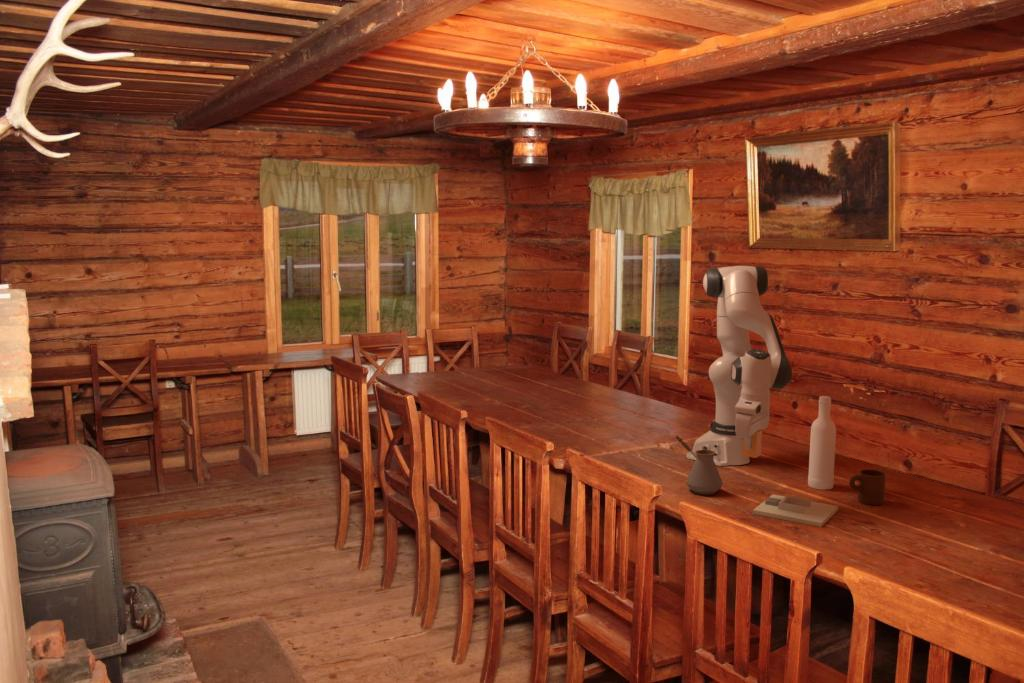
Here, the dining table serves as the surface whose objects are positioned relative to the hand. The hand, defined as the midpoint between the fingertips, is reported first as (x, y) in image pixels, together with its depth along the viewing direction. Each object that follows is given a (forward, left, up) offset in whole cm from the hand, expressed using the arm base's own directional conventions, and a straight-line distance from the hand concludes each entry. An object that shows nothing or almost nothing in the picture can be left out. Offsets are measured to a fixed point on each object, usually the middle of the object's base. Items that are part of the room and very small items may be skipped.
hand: (751, 446), depth 278 cm
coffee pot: (-20, +3, -17) cm, 26 cm away
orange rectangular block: (0, 0, -3) cm, 3 cm away
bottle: (+14, +27, -17) cm, 35 cm away
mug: (+30, +18, -17) cm, 39 cm away
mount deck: (+15, -3, -17) cm, 23 cm away
